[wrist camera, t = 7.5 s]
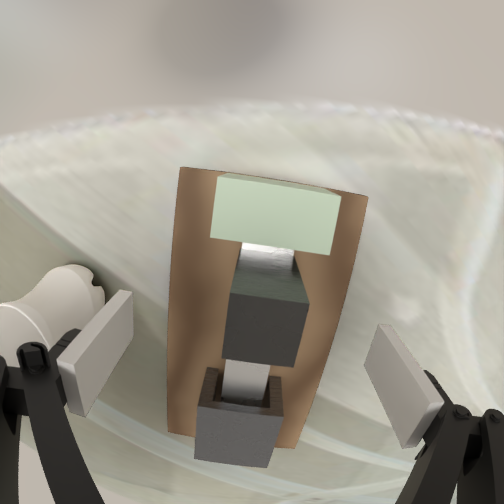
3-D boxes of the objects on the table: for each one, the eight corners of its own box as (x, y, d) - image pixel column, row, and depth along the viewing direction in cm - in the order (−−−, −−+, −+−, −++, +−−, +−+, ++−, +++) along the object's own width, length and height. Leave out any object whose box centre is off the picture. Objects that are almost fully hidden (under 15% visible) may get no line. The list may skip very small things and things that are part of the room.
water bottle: (53, 254, 29) (-131, 379, 5) (109, 261, 29) (-85, 435, 5) (61, 314, 31) (-80, 461, 7) (114, 325, 31) (-19, 514, 7)
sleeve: (202, 420, 33) (194, 458, 28) (207, 366, 31) (197, 405, 25) (266, 429, 33) (266, 467, 28) (280, 376, 31) (283, 416, 25)
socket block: (221, 220, 27) (209, 237, 21) (227, 172, 26) (217, 176, 20) (315, 234, 27) (329, 255, 21) (323, 188, 26) (341, 196, 20)
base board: (169, 426, 35) (168, 431, 34) (182, 166, 26) (180, 167, 26) (294, 443, 35) (294, 448, 34) (364, 195, 27) (368, 197, 26)
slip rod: (222, 388, 32) (207, 476, 20) (250, 182, 26) (242, 200, 14) (259, 393, 32) (258, 482, 20) (299, 190, 26) (329, 214, 14)
